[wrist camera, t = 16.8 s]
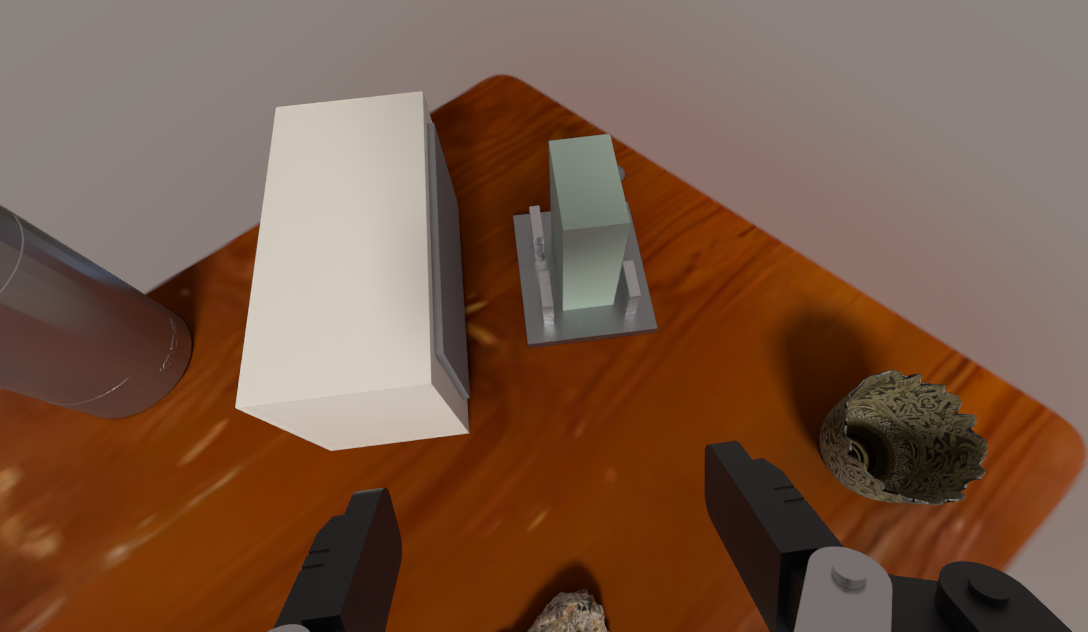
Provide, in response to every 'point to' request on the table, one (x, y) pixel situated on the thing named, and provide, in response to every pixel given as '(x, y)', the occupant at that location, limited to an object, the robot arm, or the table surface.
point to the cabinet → (357, 279)
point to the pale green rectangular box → (587, 219)
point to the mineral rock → (571, 614)
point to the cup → (902, 441)
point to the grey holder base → (545, 300)
